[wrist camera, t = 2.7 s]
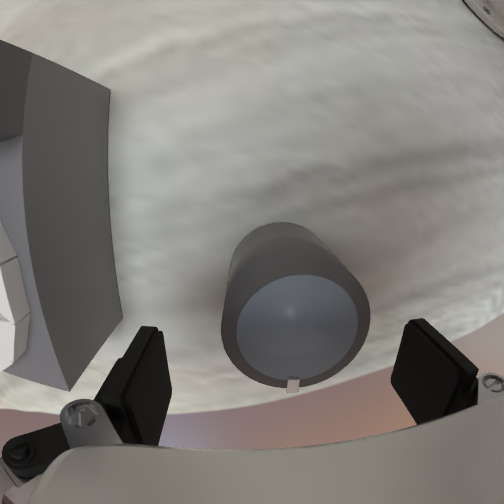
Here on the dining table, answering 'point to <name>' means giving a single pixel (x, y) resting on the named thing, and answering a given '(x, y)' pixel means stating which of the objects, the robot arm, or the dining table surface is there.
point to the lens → (291, 309)
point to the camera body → (53, 220)
